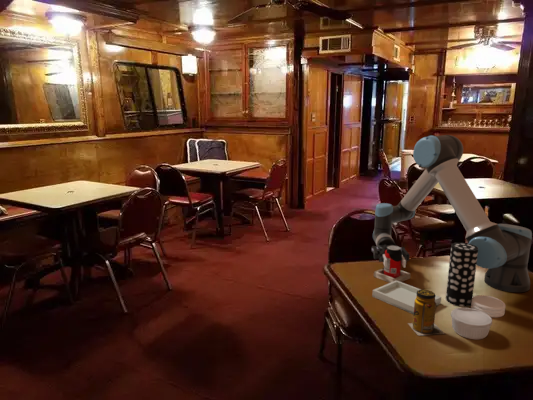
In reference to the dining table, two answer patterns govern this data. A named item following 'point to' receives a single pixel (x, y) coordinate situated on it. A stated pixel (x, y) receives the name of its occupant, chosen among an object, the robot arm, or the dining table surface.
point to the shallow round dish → (488, 305)
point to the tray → (399, 295)
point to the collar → (389, 279)
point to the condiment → (425, 314)
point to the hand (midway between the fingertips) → (395, 263)
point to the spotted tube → (461, 274)
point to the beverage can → (393, 261)
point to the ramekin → (471, 323)
